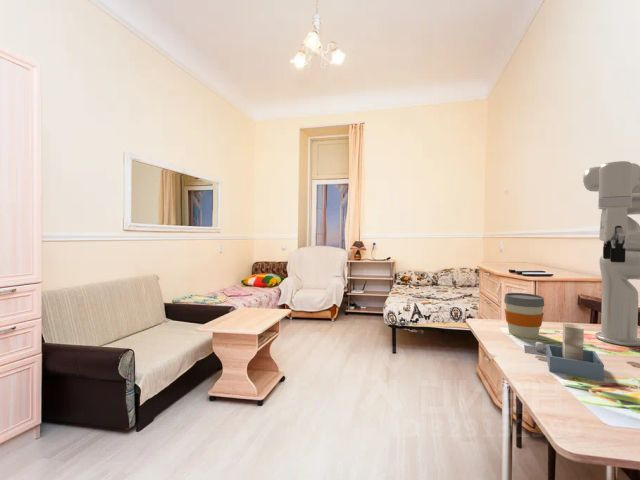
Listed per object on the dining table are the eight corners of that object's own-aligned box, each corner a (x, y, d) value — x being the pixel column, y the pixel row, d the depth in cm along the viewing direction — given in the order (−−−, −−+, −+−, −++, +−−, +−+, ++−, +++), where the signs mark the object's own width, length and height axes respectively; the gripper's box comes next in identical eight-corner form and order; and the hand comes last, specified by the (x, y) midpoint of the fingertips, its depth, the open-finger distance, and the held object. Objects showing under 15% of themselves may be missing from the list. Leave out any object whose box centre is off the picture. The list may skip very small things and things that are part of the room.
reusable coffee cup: (535, 332, 126) (536, 293, 126) (550, 343, 114) (551, 300, 114) (499, 330, 129) (499, 292, 129) (509, 340, 117) (510, 298, 117)
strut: (579, 368, 92) (580, 325, 92) (582, 373, 89) (583, 329, 88) (562, 365, 94) (563, 323, 94) (564, 370, 91) (565, 326, 90)
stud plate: (524, 348, 110) (524, 337, 110) (553, 352, 106) (553, 341, 106) (524, 355, 103) (524, 344, 103) (556, 361, 99) (556, 349, 99)
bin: (546, 360, 99) (546, 344, 99) (594, 368, 93) (594, 351, 93) (549, 374, 89) (549, 356, 89) (603, 384, 84) (603, 365, 83)
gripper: (593, 205, 109) (592, 257, 110) (604, 202, 94) (603, 262, 95) (623, 204, 105) (622, 258, 106) (640, 201, 91) (639, 264, 91)
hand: (613, 260), depth 101 cm, fingers open, 9 cm apart
